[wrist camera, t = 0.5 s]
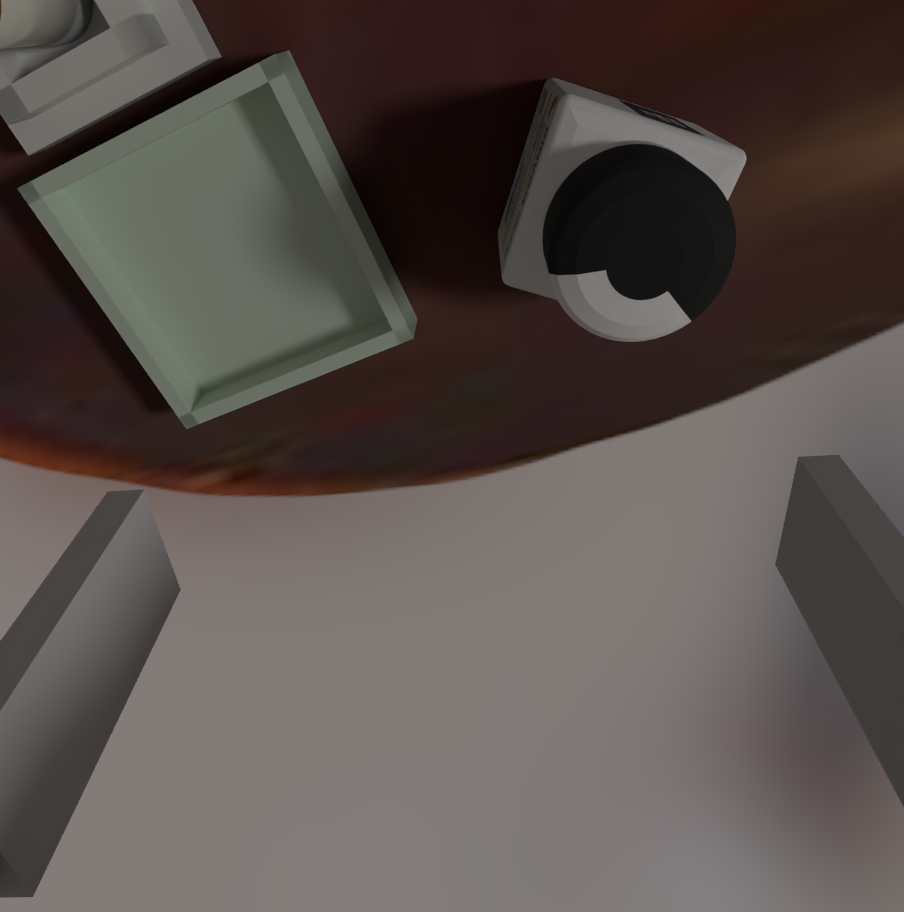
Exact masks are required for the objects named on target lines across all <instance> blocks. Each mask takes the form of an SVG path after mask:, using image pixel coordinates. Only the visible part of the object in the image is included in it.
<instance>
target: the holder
mask: <svg viewBox="0 0 904 912" xmlns="http://www.w3.org/2000/svg"><path fill="white" fill-rule="evenodd" d="M219 58H221V55H220V53H219V51H218V49H217V47H216V45H215V43H214V41H213V39H212V37H211V36H210V34H209V32H208V30H207V28H206V26H205V24H204V22H203V20H202V18H201V16H200V14H199V12H198V11H197V9H196V7H195V5H194V3H193V1H192V0H93V13H92V18H91V21H90V24H89V26H88V28H87V30H86V31H85V33H84V34H83V35H82V36H81V37H80V38H79V39H78V40H76V41H75V42H73V43H71V44H68V45H64V46H56V47H45V48H40V47H33V46H27V47H16V48H6V49H0V115H1V116H2V118H3V119H4V120H5V122H6V123H7V125H8V126H9V128H10V129H11V131H12V132H13V134H14V135H15V137H16V138H17V140H18V141H19V142H20V144H21V145H22V147H23V148H24V150H25V151H26V153H27V154H28V155H31V154H34V153H37V152H40V151H43V150H46V149H49V148H51V147H53V146H55V145H57V144H59V143H61V142H62V141H64V140H66V139H68V138H70V137H72V136H74V135H76V134H77V133H79V132H81V131H83V130H85V129H87V128H89V127H91V126H93V125H94V124H96V123H98V122H100V121H102V120H104V119H106V118H108V117H110V116H111V115H113V114H115V113H117V112H119V111H121V110H123V109H125V108H127V107H128V106H130V105H132V104H134V103H136V102H138V101H140V100H142V99H144V98H145V97H147V96H149V95H151V94H153V93H155V92H157V91H159V90H160V89H162V88H164V87H166V86H168V85H170V84H172V83H174V82H176V81H177V80H179V79H181V78H183V77H185V76H187V75H189V74H191V73H193V72H194V71H196V70H198V69H200V68H202V67H204V66H206V65H208V64H210V63H211V62H213V61H215V60H217V59H219Z"/></svg>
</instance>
